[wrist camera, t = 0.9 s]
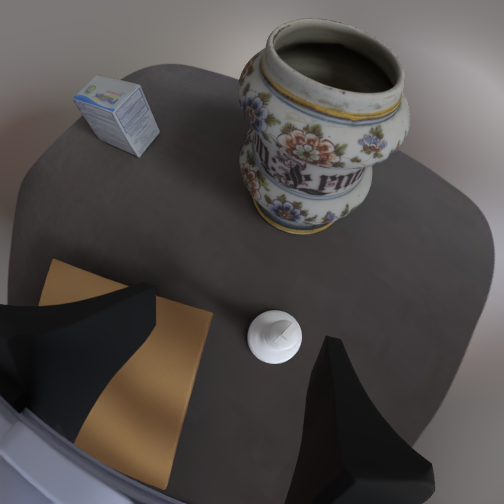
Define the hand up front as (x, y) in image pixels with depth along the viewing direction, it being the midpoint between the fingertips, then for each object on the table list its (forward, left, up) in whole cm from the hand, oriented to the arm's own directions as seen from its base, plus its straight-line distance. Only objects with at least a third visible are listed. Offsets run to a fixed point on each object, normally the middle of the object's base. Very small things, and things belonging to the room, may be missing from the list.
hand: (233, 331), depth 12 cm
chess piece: (+1, -3, -16) cm, 16 cm away
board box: (-7, +11, -15) cm, 20 cm away
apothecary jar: (+16, -2, -16) cm, 22 cm away
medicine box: (+19, +20, -16) cm, 32 cm away
